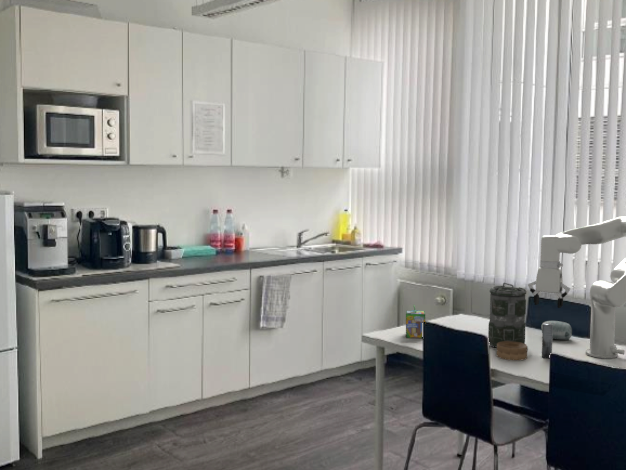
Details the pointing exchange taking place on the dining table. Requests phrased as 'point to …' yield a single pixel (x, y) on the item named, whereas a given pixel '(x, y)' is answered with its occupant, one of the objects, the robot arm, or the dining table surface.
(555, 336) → the grey-green rounded cylinder
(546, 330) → the pin
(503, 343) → the brown round short cylinder
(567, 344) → the dining table surface
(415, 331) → the chalk box
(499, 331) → the canister
